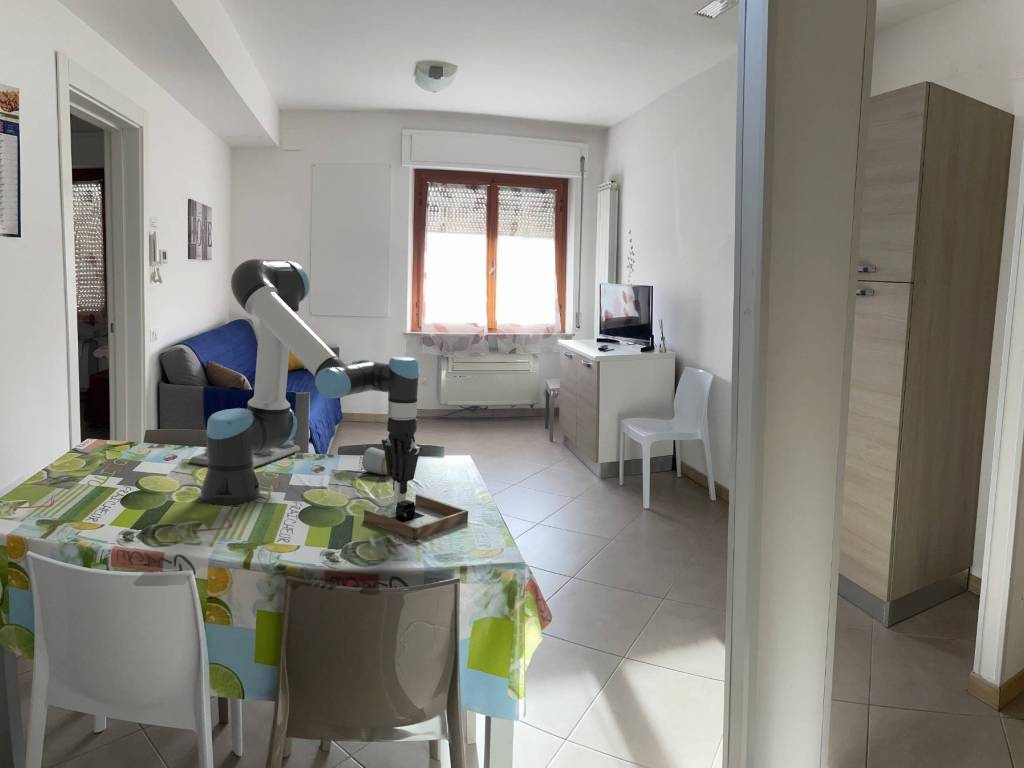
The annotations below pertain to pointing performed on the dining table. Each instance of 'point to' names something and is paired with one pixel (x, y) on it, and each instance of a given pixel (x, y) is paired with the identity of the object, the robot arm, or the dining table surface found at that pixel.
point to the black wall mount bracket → (406, 511)
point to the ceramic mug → (374, 461)
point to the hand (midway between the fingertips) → (399, 504)
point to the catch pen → (453, 519)
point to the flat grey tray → (257, 455)
